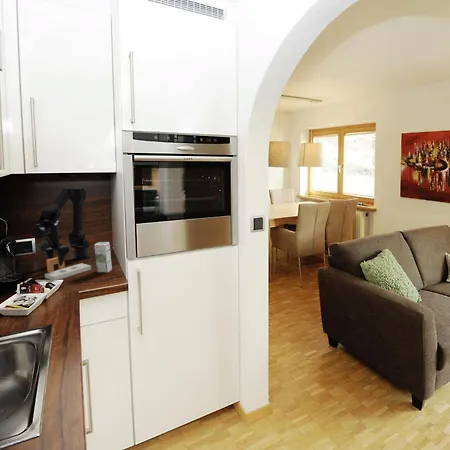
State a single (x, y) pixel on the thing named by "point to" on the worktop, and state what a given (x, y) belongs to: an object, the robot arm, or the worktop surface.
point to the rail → (67, 271)
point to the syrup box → (103, 256)
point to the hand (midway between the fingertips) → (55, 263)
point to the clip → (51, 262)
